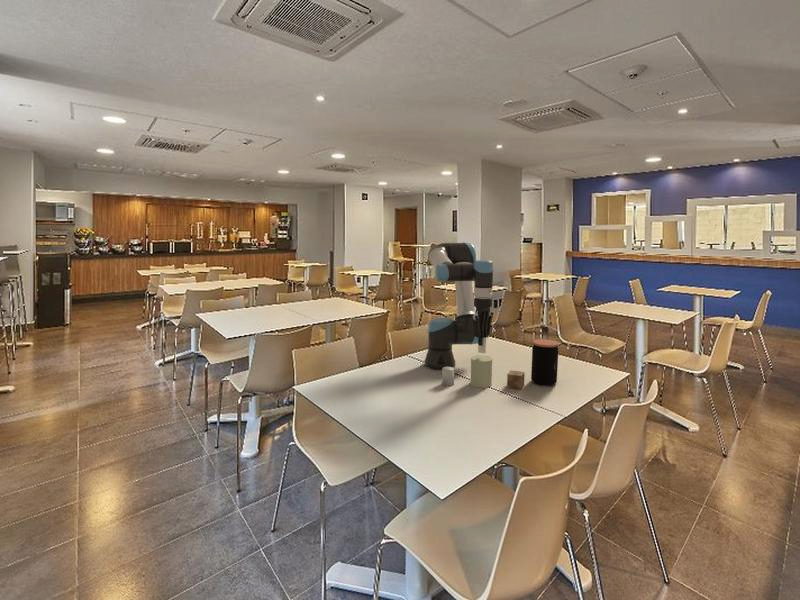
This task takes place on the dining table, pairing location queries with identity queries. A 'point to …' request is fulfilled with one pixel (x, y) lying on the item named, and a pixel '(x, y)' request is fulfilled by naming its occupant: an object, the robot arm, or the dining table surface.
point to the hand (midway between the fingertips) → (481, 352)
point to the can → (481, 371)
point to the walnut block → (515, 379)
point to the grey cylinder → (448, 376)
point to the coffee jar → (544, 362)
